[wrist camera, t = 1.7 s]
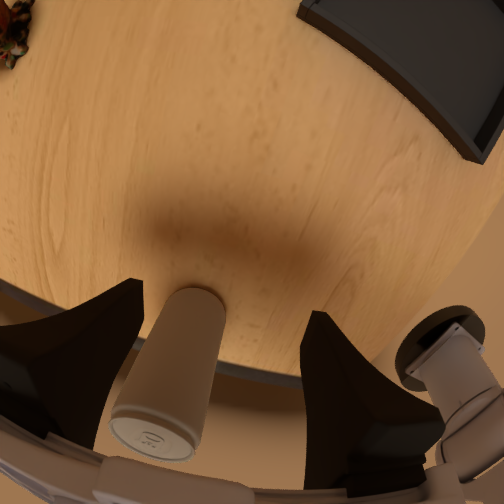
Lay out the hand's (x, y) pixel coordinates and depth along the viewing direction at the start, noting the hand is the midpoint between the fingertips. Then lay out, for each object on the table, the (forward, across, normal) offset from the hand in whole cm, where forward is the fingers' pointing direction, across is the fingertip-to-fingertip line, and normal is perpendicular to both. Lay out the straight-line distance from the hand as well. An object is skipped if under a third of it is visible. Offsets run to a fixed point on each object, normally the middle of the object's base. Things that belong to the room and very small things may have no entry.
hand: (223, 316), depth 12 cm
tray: (+9, -11, -19) cm, 24 cm away
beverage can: (+9, +2, +6) cm, 11 cm away
